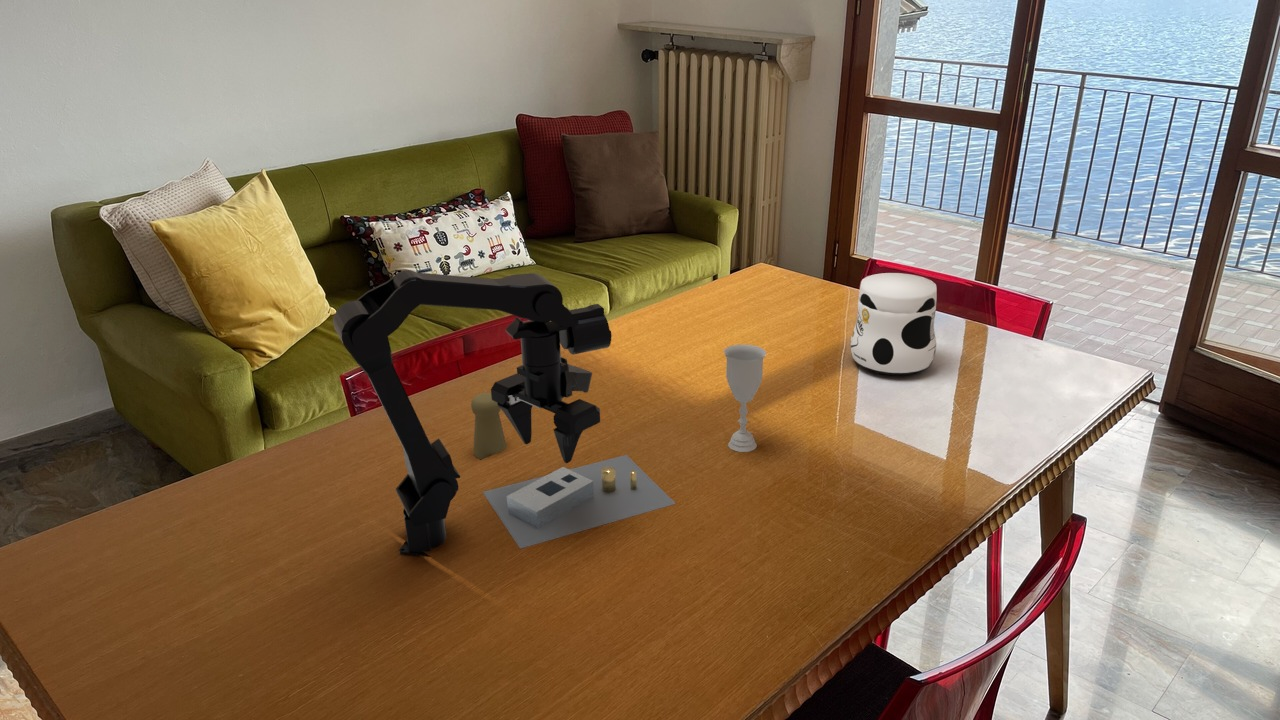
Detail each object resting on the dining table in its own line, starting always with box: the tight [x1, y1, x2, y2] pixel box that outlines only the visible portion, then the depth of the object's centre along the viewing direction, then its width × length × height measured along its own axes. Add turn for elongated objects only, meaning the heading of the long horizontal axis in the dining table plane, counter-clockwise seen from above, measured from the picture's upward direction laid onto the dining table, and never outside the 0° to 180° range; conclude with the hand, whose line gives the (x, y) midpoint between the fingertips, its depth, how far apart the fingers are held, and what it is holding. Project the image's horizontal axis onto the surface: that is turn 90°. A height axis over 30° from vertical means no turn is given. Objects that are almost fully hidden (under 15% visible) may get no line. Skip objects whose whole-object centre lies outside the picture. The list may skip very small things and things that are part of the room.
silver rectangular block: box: [507, 466, 594, 529], centre depth 148 cm, size 12×7×3 cm, turn 137°
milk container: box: [850, 272, 938, 376], centre depth 195 cm, size 17×17×18 cm
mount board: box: [482, 454, 677, 550], centre depth 151 cm, size 26×18×1 cm
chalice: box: [723, 344, 767, 453], centre depth 164 cm, size 7×7×18 cm
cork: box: [470, 392, 508, 460], centre depth 165 cm, size 6×6×11 cm
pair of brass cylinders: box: [601, 467, 637, 493], centre depth 152 cm, size 6×2×4 cm, turn 92°
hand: (547, 452), depth 145 cm, fingers open, 9 cm apart
